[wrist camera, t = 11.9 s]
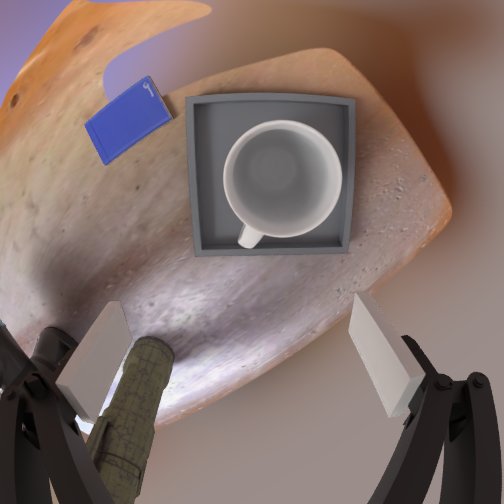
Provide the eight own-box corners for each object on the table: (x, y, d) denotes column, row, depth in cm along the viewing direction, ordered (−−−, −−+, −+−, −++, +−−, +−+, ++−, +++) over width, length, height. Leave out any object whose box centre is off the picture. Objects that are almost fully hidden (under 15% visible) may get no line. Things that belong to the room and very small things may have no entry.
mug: (280, 242, 40) (293, 287, 28) (208, 213, 38) (190, 248, 26) (325, 148, 34) (362, 153, 22) (251, 114, 33) (252, 99, 21)
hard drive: (147, 74, 30) (83, 124, 32) (171, 118, 33) (104, 166, 35) (150, 76, 31) (88, 124, 33) (174, 119, 34) (109, 165, 36)
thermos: (153, 324, 47) (87, 501, 14) (187, 366, 51) (155, 529, 19) (121, 336, 48) (51, 487, 16) (154, 375, 52) (113, 518, 20)
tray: (198, 248, 41) (195, 256, 38) (190, 100, 33) (185, 97, 30) (341, 245, 41) (347, 253, 38) (347, 101, 33) (355, 99, 30)
